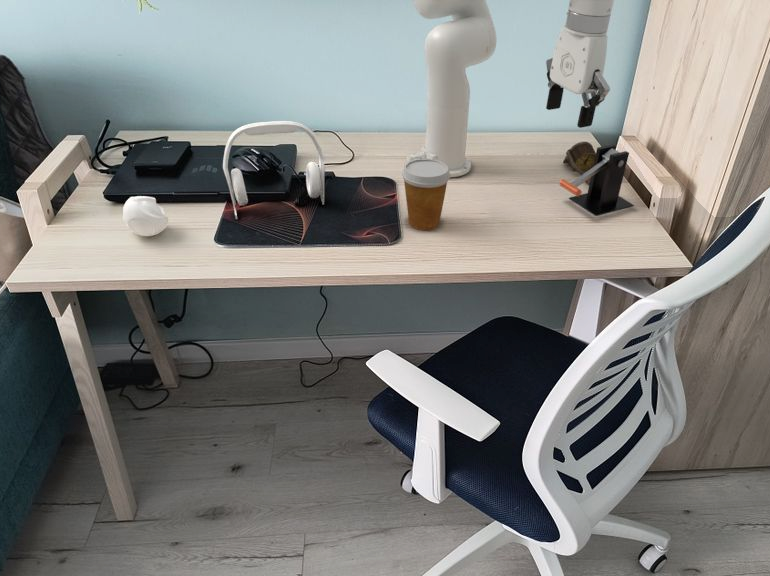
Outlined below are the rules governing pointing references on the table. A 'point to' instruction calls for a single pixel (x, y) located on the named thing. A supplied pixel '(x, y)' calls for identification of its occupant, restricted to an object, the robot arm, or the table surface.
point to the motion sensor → (144, 216)
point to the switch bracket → (605, 185)
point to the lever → (587, 174)
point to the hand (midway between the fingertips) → (568, 117)
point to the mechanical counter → (581, 158)
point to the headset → (312, 171)
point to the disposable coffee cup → (425, 191)
